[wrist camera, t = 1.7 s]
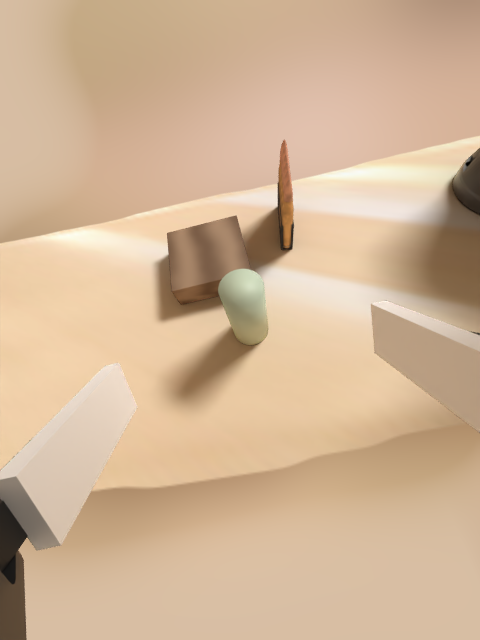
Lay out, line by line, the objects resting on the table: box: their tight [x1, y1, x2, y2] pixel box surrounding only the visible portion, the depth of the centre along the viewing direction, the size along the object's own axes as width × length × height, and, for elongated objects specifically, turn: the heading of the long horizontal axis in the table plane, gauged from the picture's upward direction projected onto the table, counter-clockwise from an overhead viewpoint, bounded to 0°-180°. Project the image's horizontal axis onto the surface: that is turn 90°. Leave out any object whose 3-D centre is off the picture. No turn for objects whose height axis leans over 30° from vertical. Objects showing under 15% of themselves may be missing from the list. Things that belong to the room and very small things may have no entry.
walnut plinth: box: [167, 216, 251, 305], centre depth 42 cm, size 12×12×4 cm
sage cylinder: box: [218, 269, 268, 345], centre depth 32 cm, size 5×5×11 cm
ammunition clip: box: [278, 140, 294, 250], centre depth 40 cm, size 11×2×12 cm, turn 179°
